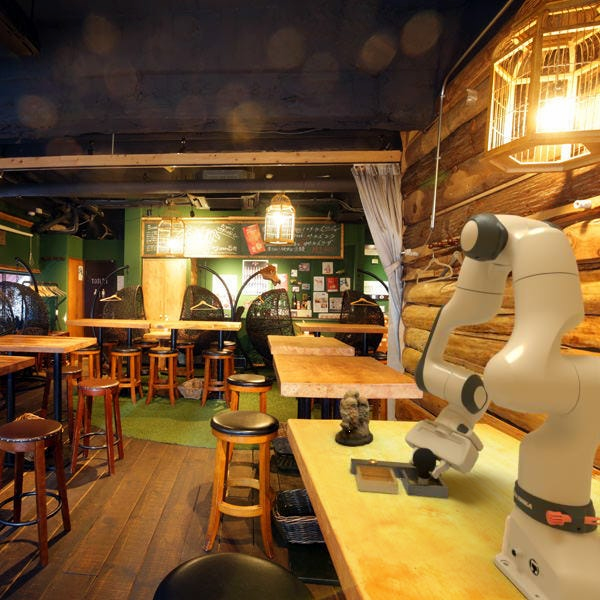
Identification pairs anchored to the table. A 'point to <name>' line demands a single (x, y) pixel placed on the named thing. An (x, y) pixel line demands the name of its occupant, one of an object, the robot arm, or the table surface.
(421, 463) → the light bulb
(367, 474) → the rail
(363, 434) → the carved stone statue
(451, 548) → the table surface
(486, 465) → the table surface
